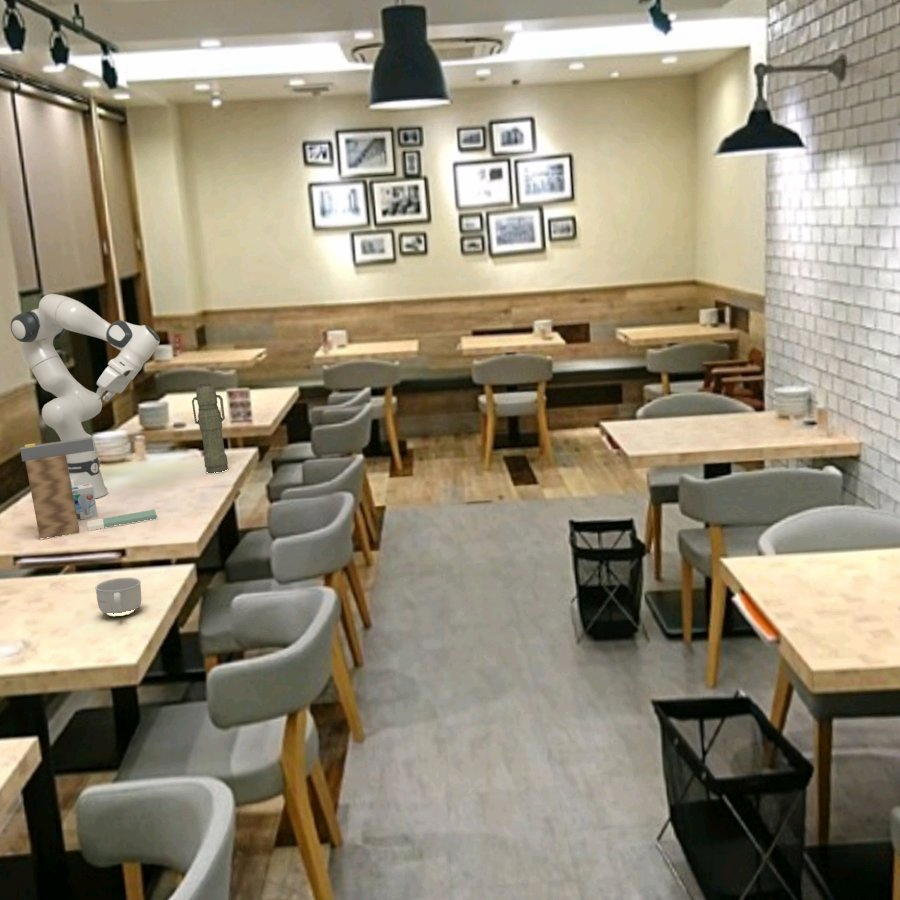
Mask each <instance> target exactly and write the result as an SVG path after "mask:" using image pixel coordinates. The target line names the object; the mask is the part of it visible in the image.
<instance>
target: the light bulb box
mask: <svg viewBox="0 0 900 900" xmlns="http://www.w3.org/2000/svg"><path fill="white" fill-rule="evenodd" d="M72 492H73V498H74V503H75V509H76V515H77V520H78V521H81V520H86V519H85V518H87V519H90V517H92V518H97V517H98V510H97V504H96V498H95V496H94V490H93V486H92V485H91V484H85V485H79V486H74V487H72ZM96 516H97V517H96ZM80 519H81V520H80Z"/></svg>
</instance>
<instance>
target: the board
mask: <svg viewBox="0 0 900 900" xmlns="http://www.w3.org/2000/svg"><path fill="white" fill-rule="evenodd" d="M156 518H157V519H158V515H157V512H156V509H150V510H149V509H148V510H144V511H137V512H132V513H128V514H127V513H126V514H125V513H124V514H120V515H115V516H110V517H103V518H97V519H92V520H87V521H86V522H87V523H86V524H87V529H88V532H91V531H90V530H93V531H96V530H95V529H99V530H101V529H100V528H104V529H106V528H105V527H110V526H114V525H119V524H127V523H132V522H138V521H144V520H150V519H155V520H157V519H156ZM150 521H151V520H150ZM144 522H145V521H144ZM138 523H139V522H138ZM127 525H128V524H127ZM110 528H111V527H110Z"/></svg>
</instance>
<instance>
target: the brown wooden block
mask: <svg viewBox="0 0 900 900" xmlns="http://www.w3.org/2000/svg"><path fill="white" fill-rule="evenodd" d="M25 466H26V467H25V468H26V472H27V476H28V483H29V487H30V492H31V493H30V494H31V499H32V504H33V510H34V515H35V519H36V524H37V525H36V526H37V531H38V536H39V539H40V538H47V537H54V538H56V537H55V536H59V537H63V536H62V535H65V536H69V534H71V535H75V534H76V535H77V534H79V533H80V527H79V526H80V525H79V520H77V515H76V509H75V503H74V498H73V492H72V487H71V481H70V475H69V470H68V464H67V459H66V455H62V456H55V457H49V458H42V459H36V460H29V461H25Z"/></svg>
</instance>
